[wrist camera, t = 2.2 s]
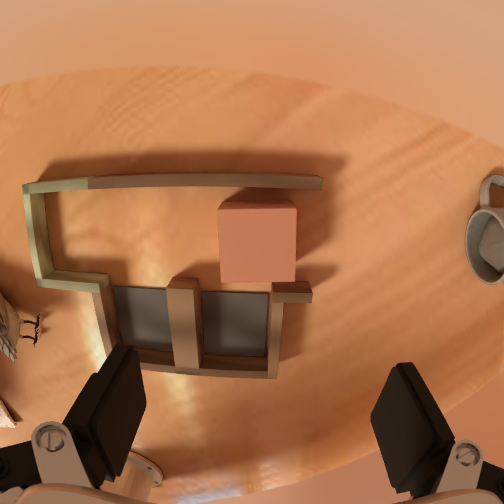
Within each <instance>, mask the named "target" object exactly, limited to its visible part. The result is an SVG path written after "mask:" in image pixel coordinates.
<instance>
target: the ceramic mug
mask: <svg viewBox="0 0 504 504" xmlns="http://www.w3.org/2000/svg"><path fill="white" fill-rule="evenodd" d="M491 183H493V184H497V185H499V186H502V187H503V188H504V176H502V175H496V174H495V175H491V176H490V177H488V178H486V179H485V180H484V181H483V182H482V184H481V186H480V191H479V198H480V209H479V210H477V211H476V212H475V213H474V214H473V215H472V216H471V218H470V220H469V222H468V225H467V228H466V235H465V248H466V255H467V258H468V262H469V265H470V267H471V269H472V271H473V272H474V274H475V275H476V276H477V278H478V279H479V280H481V281H482V282H484V283H485V284H488V285H497V284H500V283H502V282H504V208H492V207H491V206H490V203H489V188H490V184H491Z"/></svg>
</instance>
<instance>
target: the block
mask: <svg viewBox="0 0 504 504" xmlns="http://www.w3.org/2000/svg"><path fill="white" fill-rule="evenodd" d="M217 215H218V236H219V255H220V272H221V283H226V282H295V261H296V215H297V208H296V207H295V205H294V204H293V202H292V201H226V202H222V203H221V205H220V206H219V208H218V209H217Z"/></svg>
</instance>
